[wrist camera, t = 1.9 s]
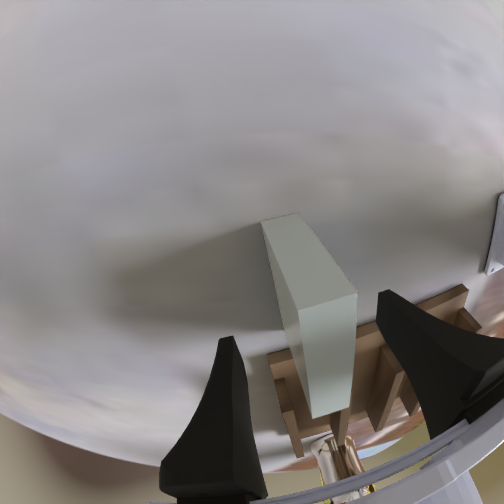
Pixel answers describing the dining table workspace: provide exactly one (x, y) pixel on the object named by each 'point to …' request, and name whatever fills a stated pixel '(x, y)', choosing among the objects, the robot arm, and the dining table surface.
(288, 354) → the rack
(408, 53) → the dining table surface
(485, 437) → the robot arm
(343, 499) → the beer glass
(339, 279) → the tile
